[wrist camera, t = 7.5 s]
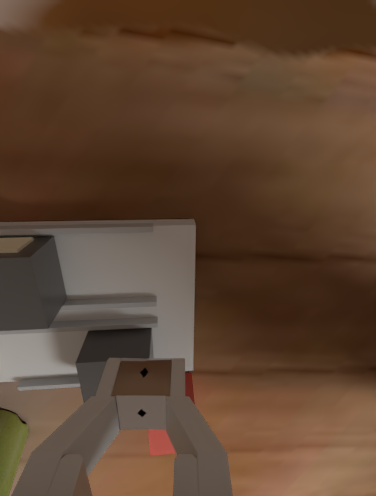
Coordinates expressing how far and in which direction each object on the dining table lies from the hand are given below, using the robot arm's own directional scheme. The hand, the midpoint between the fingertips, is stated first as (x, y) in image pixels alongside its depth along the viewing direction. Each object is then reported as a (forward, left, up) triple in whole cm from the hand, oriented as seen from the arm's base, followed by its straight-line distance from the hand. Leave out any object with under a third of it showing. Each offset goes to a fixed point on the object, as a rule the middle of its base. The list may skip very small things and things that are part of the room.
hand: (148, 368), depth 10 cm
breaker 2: (+3, +8, -9) cm, 13 cm away
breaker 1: (+9, 0, -10) cm, 13 cm away
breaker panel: (+7, +4, -11) cm, 14 cm away
